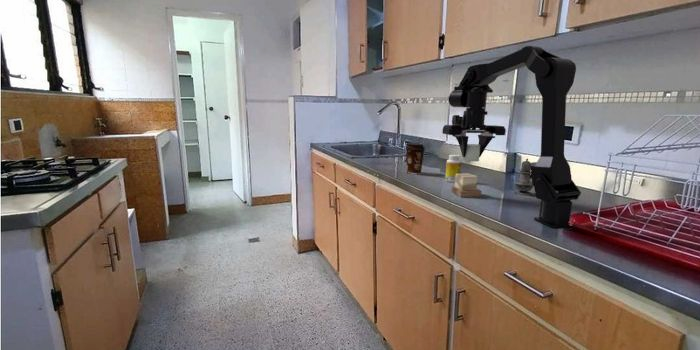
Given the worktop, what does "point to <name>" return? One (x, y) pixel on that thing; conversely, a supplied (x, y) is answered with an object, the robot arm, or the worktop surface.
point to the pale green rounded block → (472, 152)
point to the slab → (466, 192)
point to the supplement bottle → (453, 167)
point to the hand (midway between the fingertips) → (471, 157)
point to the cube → (466, 181)
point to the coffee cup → (414, 157)
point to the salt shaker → (524, 179)
